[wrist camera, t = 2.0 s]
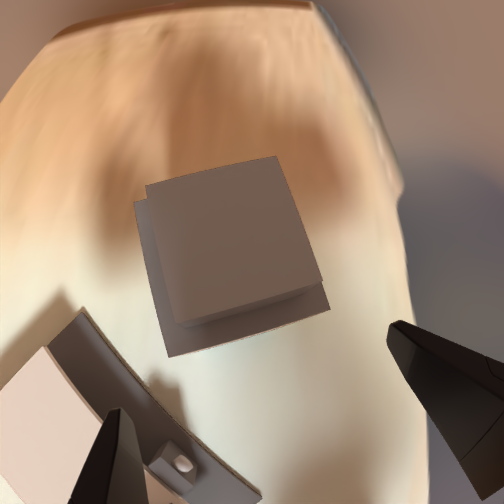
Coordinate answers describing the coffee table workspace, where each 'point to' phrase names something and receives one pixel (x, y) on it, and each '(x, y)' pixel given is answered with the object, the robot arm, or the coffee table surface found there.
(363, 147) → the coffee table surface
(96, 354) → the stand
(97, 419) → the trapdoor flap
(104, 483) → the robot arm
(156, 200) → the stone pillar
